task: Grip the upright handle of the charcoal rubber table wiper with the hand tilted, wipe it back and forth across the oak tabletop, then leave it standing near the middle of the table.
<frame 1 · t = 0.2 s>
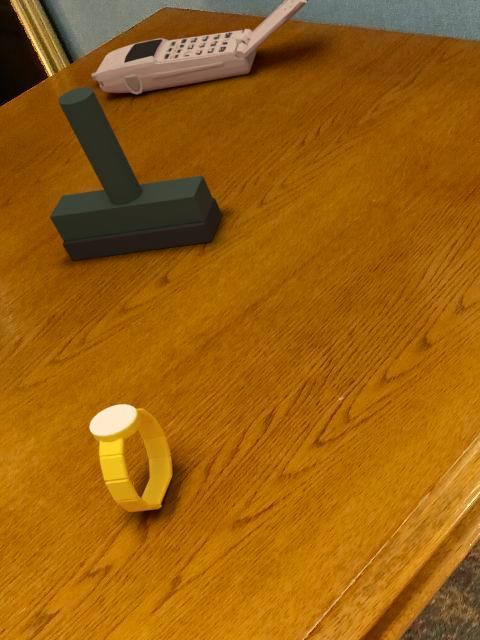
wiper: (147, 237, 82), on the table
mobile phone: (210, 74, 102), on the table
watch: (159, 494, 61), on the table
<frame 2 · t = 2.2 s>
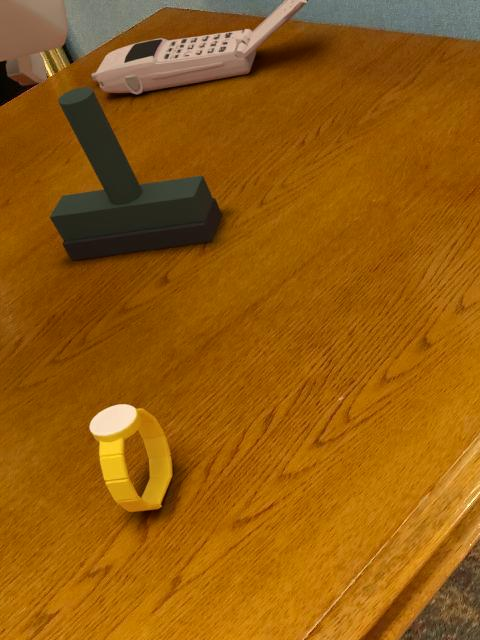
nothing on the table moved.
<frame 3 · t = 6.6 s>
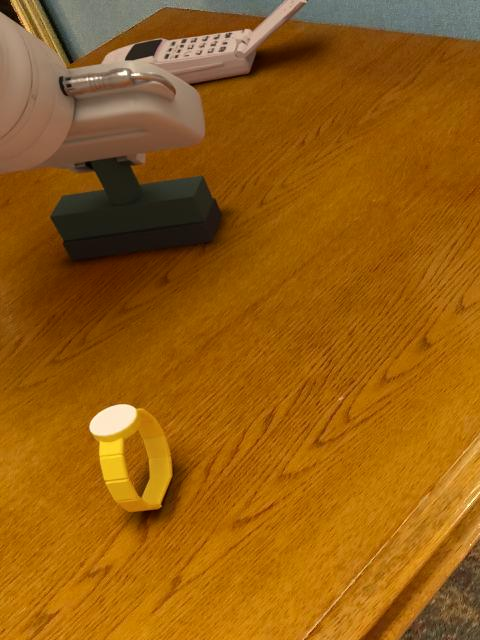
hand: (111, 158, 77), 7 cm above the table, tool tilted 45°, fingers closed on wiper, 2 cm apart
wiper: (147, 237, 82), on the table, touching gripper
everything else where it was.
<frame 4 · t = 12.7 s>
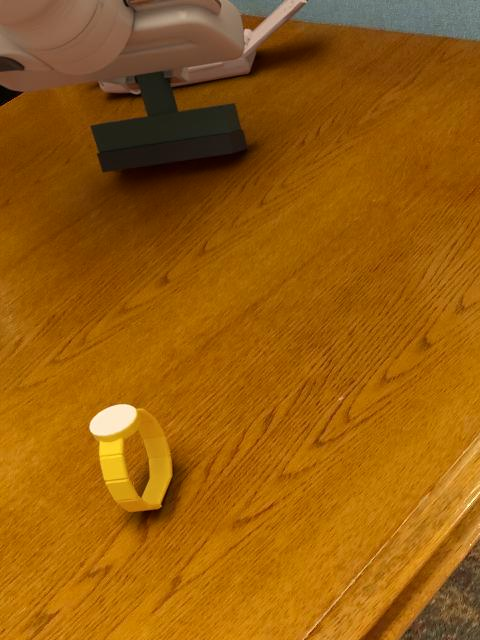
hand: (158, 77, 86), 7 cm above the table, tool tilted 45°, fingers closed on wiper, 2 cm apart
wiper: (176, 160, 88), point 1 cm above the table, tilted 22°, touching gripper
everything else where it was.
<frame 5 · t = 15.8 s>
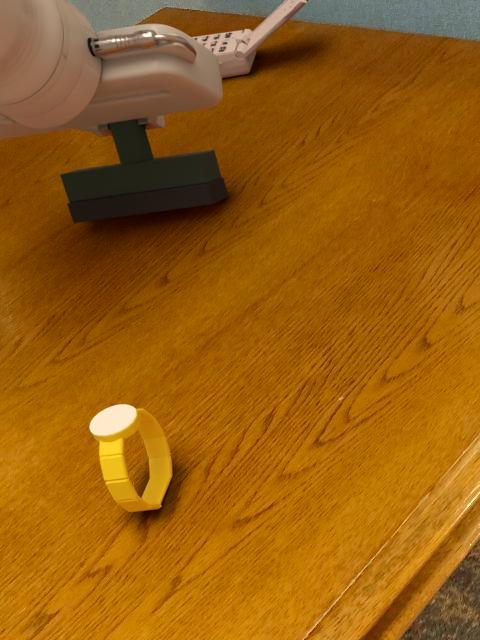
hand: (132, 122, 81), 6 cm above the table, tool tilted 45°, fingers closed on wiper, 2 cm apart
wiper: (152, 210, 83), point 1 cm above the table, tilted 22°, touching gripper
everything else where it was.
when the fingers open (6 cm above the table, at t = 18.6 s): wiper stays where it is, on the table.
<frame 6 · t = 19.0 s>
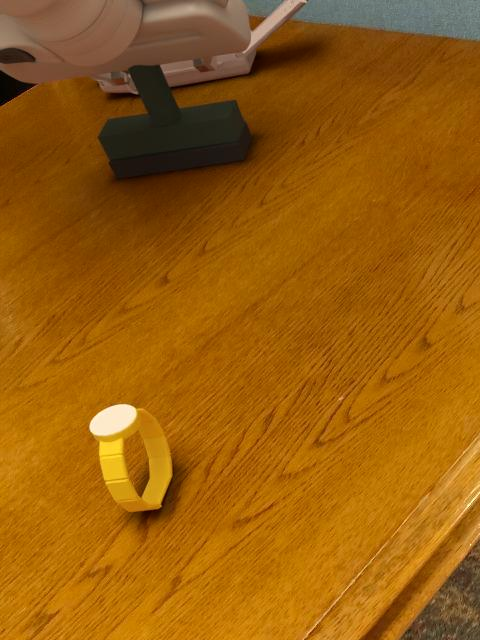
hand: (165, 69, 88), 6 cm above the table, tool tilted 45°, fingers open, 7 cm apart
wiper: (185, 158, 90), on the table
everything else where it was.
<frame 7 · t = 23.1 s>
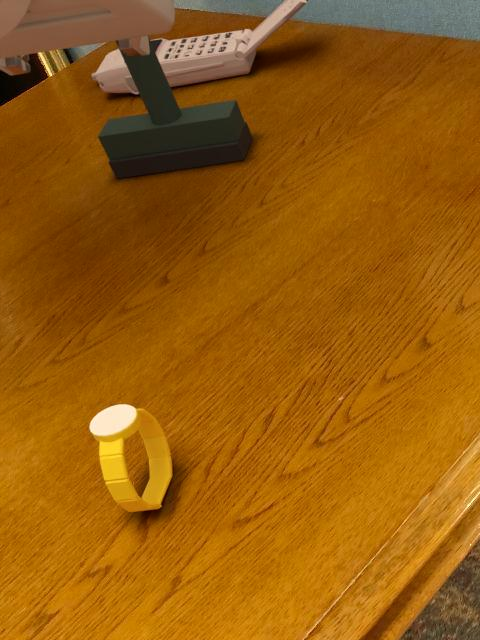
hand: (80, 55, 74), 13 cm above the table, tool tilted 45°, fingers open, 8 cm apart
nothing on the table moved.
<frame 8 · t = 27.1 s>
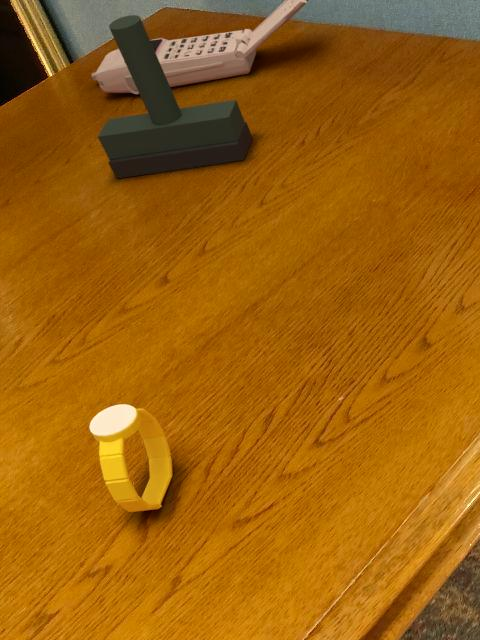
nothing on the table moved.
at the end: wiper inside the target area (3.2 cm from its centre), on the table; wiper tilted 0°; the gripper is holding nothing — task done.
